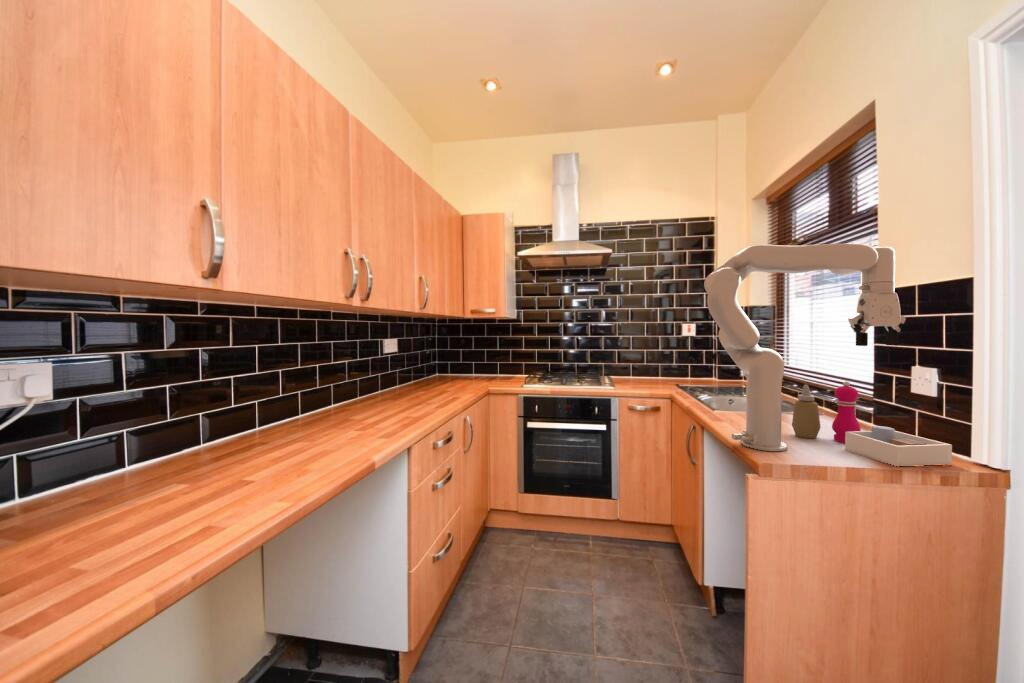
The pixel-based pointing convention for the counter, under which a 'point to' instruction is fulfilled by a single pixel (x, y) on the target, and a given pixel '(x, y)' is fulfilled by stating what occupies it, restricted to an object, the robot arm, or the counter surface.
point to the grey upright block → (883, 433)
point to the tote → (899, 449)
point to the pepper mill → (845, 412)
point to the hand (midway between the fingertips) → (876, 345)
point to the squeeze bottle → (806, 415)
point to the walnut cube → (906, 442)
